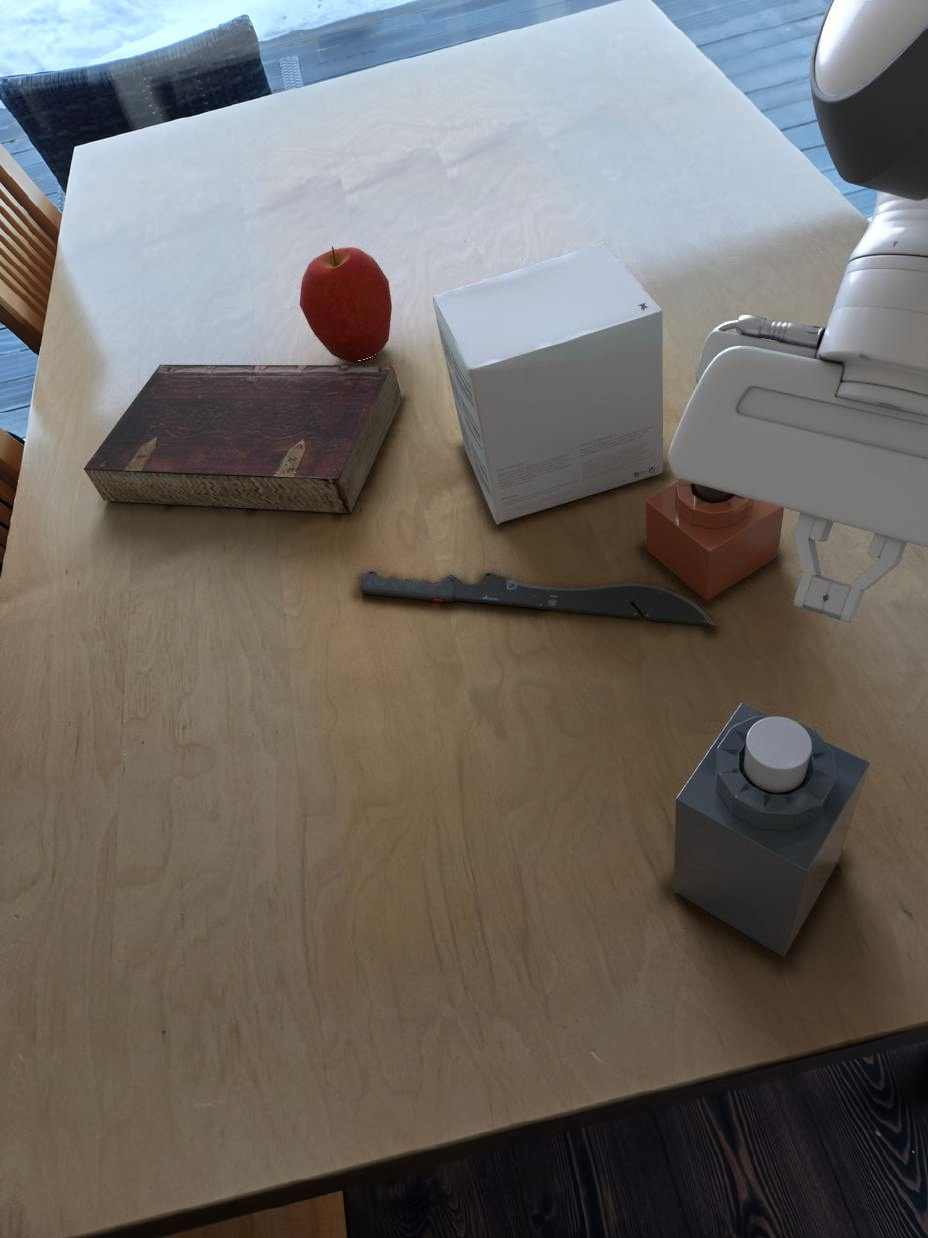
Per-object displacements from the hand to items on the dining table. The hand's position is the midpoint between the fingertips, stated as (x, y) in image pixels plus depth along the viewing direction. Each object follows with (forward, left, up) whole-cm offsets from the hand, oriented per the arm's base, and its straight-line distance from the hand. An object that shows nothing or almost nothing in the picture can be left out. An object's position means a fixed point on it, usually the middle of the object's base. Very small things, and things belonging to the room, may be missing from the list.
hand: (822, 613), depth 48 cm
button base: (+17, -20, -23) cm, 35 cm away
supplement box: (+36, -25, -23) cm, 49 cm away
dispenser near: (0, +4, -23) cm, 23 cm away
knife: (+28, -8, -23) cm, 37 cm away
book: (+67, -11, -23) cm, 71 cm away
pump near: (0, +4, -8) cm, 10 cm away
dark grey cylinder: (+17, -20, -15) cm, 31 cm away
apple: (+68, -30, -23) cm, 77 cm away
